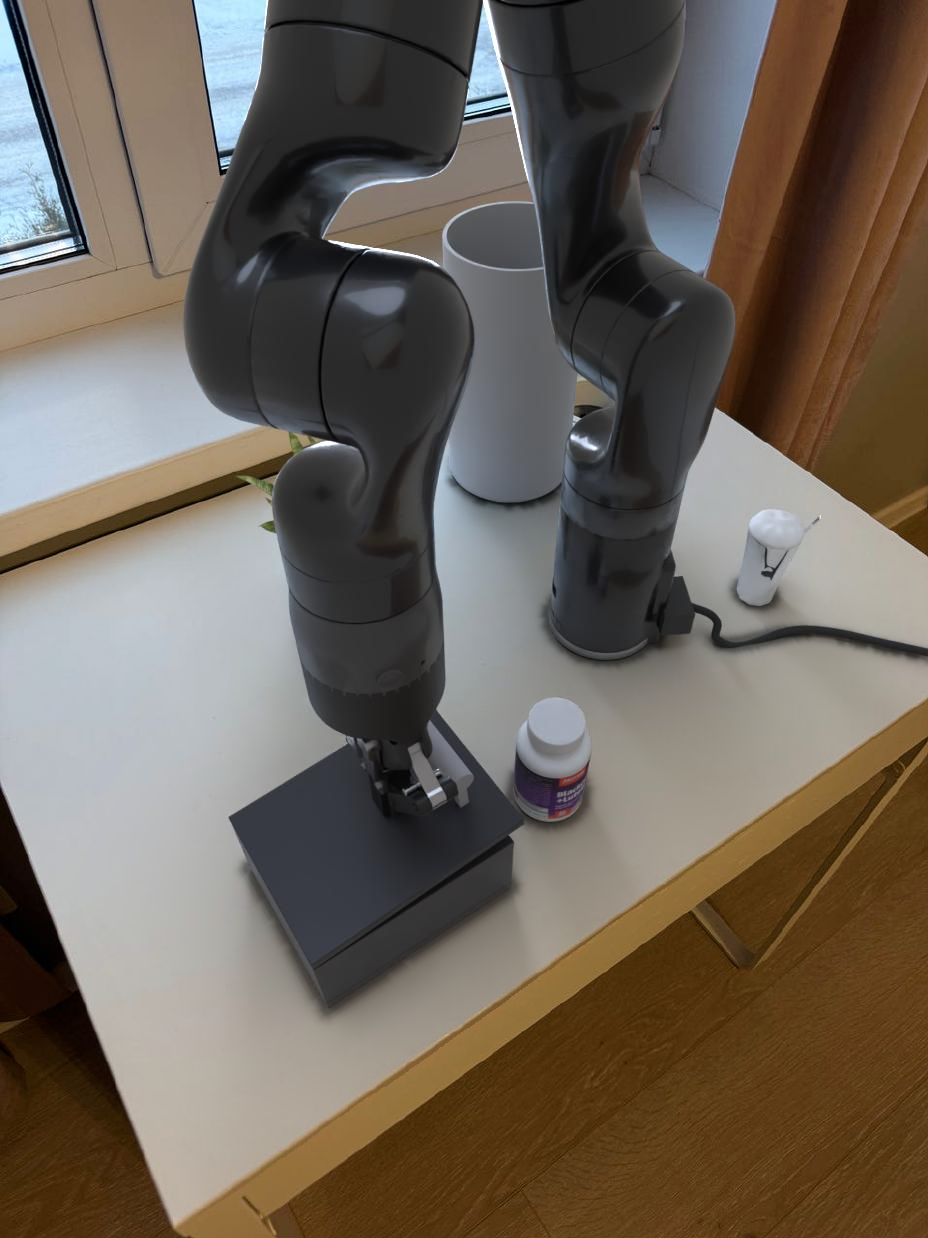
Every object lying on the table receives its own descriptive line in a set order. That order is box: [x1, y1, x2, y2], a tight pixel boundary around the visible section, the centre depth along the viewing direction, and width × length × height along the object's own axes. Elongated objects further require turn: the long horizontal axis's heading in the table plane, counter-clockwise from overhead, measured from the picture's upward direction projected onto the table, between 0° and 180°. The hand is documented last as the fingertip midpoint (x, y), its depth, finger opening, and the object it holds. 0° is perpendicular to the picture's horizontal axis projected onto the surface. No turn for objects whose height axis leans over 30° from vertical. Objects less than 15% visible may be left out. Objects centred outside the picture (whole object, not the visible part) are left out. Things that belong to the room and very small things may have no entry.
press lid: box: [228, 709, 525, 969], centre depth 57 cm, size 16×12×5 cm
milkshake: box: [736, 508, 822, 607], centre depth 78 cm, size 4×5×10 cm
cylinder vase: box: [441, 200, 579, 504], centre depth 85 cm, size 12×12×25 cm
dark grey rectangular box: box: [231, 824, 515, 1009], centre depth 62 cm, size 15×12×7 cm
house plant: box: [233, 432, 325, 534], centre depth 76 cm, size 14×14×16 cm
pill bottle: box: [513, 696, 593, 823], centre depth 65 cm, size 5×5×10 cm
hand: (393, 802), depth 59 cm, fingers closed
